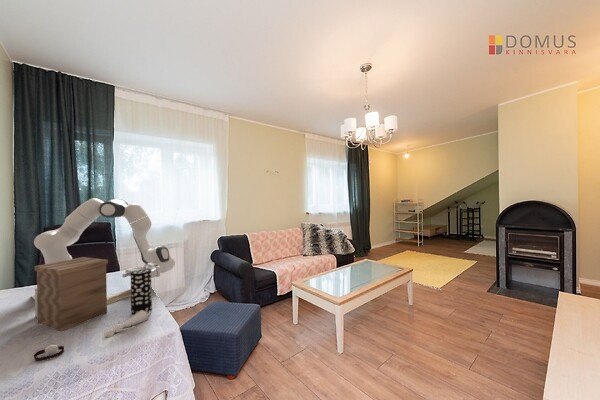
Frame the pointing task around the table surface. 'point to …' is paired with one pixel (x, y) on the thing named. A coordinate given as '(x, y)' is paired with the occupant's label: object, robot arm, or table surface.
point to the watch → (49, 350)
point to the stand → (71, 292)
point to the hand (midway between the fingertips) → (127, 276)
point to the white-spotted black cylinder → (141, 291)
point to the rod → (118, 296)
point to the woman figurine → (129, 323)
